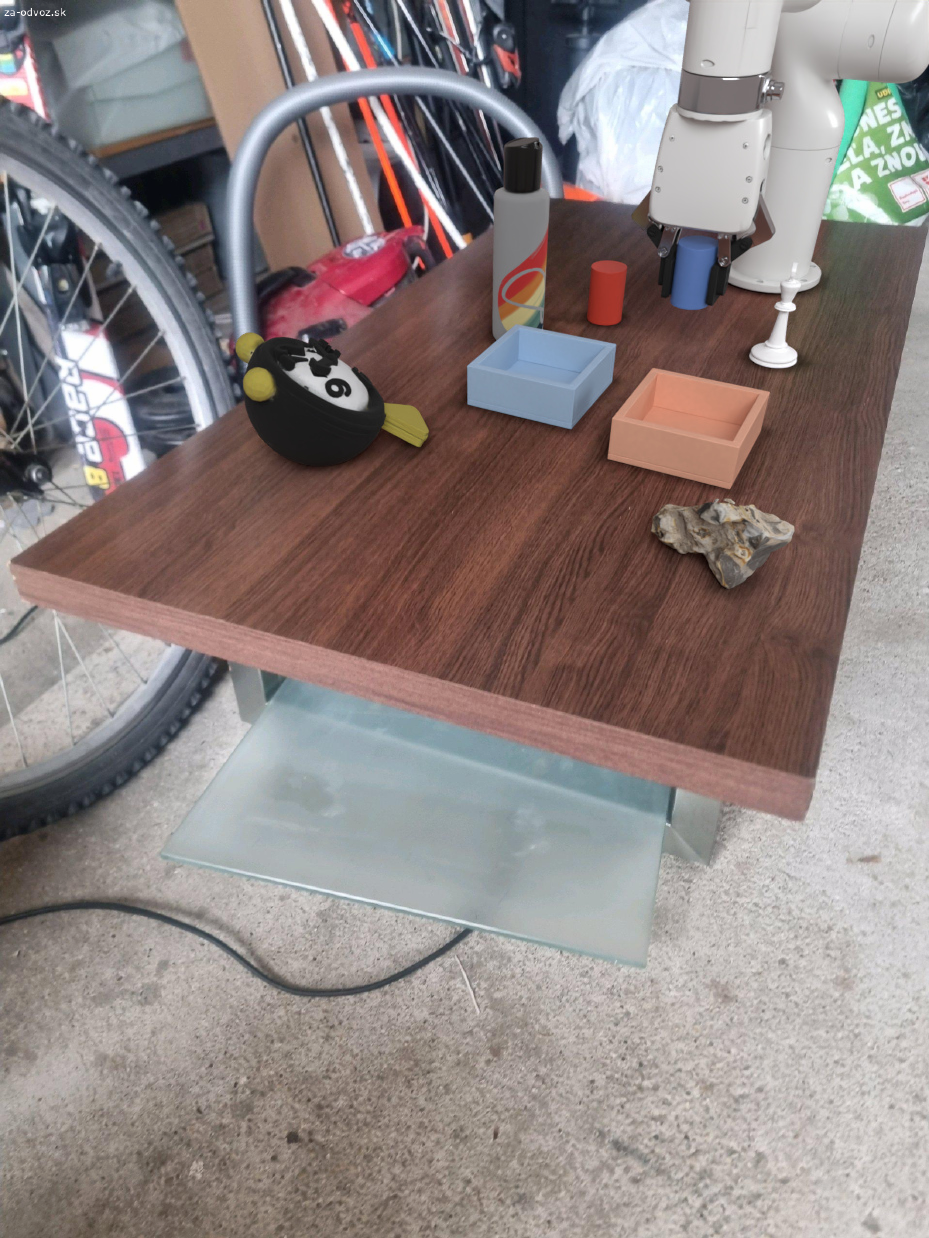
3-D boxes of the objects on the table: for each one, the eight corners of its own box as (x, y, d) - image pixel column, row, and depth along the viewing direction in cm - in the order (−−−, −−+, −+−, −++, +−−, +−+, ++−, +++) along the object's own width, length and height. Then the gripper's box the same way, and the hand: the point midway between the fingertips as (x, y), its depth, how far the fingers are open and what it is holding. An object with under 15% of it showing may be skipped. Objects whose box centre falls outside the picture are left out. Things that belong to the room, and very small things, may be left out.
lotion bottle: (538, 348, 95) (548, 146, 82) (488, 344, 96) (489, 144, 83) (545, 327, 99) (556, 132, 86) (496, 324, 100) (500, 130, 87)
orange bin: (647, 406, 85) (652, 367, 82) (760, 432, 81) (770, 391, 78) (607, 459, 78) (611, 418, 75) (729, 490, 74) (739, 447, 71)
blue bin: (514, 361, 93) (515, 323, 90) (612, 382, 89) (616, 343, 86) (467, 404, 85) (466, 365, 83) (571, 429, 82) (574, 389, 79)
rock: (617, 566, 63) (739, 531, 56) (627, 483, 66) (745, 440, 59) (686, 613, 68) (807, 586, 61) (693, 534, 71) (809, 500, 64)
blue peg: (676, 291, 91) (685, 233, 87) (714, 298, 90) (724, 238, 86) (664, 306, 89) (672, 246, 84) (703, 313, 87) (713, 252, 83)
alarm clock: (391, 525, 77) (327, 417, 64) (262, 486, 82) (179, 380, 69) (448, 422, 80) (399, 300, 67) (321, 392, 86) (253, 274, 73)
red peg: (594, 309, 103) (598, 258, 99) (626, 315, 102) (632, 263, 98) (581, 321, 101) (586, 269, 97) (614, 328, 99) (620, 275, 95)
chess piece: (797, 352, 94) (822, 257, 87) (795, 371, 90) (820, 274, 84) (751, 346, 95) (771, 252, 89) (747, 364, 92) (768, 269, 85)
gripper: (828, 91, 76) (781, 297, 88) (644, 77, 82) (625, 271, 94) (810, 111, 71) (763, 326, 83) (617, 94, 77) (600, 297, 89)
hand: (690, 295), depth 89 cm, fingers closed on blue peg, 4 cm apart
